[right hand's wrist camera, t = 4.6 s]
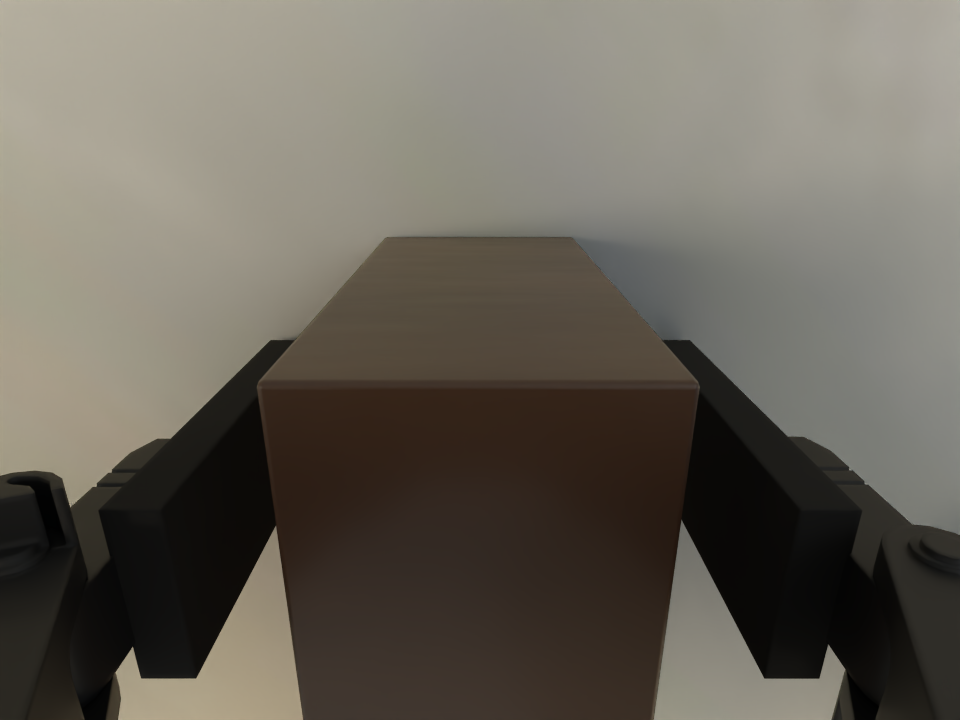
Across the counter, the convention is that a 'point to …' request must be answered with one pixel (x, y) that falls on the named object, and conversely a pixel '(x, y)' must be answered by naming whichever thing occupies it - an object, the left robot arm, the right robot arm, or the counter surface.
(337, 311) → the walnut bar
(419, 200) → the counter surface
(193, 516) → the right robot arm
